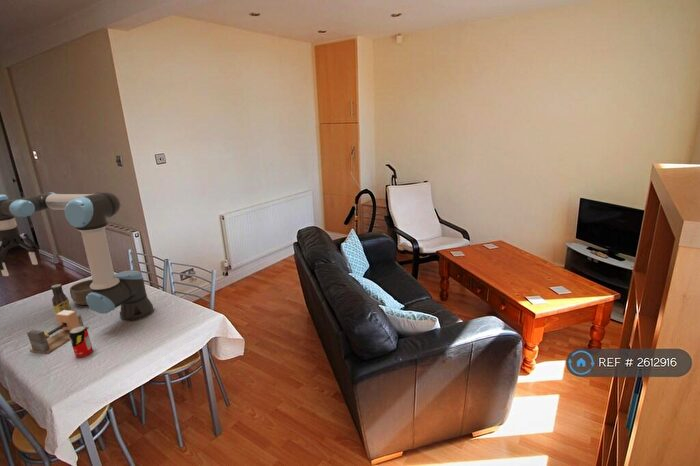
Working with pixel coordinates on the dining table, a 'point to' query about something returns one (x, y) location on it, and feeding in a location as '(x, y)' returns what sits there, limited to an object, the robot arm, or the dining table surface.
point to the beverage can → (80, 341)
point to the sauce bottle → (59, 299)
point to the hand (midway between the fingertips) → (21, 269)
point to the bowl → (80, 292)
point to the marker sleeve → (68, 319)
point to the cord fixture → (46, 345)
